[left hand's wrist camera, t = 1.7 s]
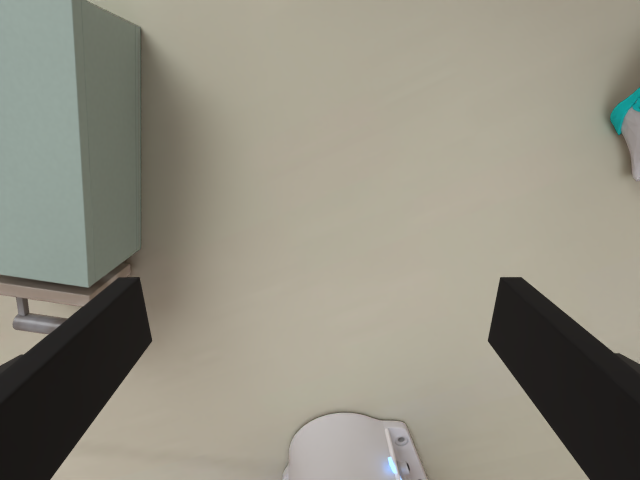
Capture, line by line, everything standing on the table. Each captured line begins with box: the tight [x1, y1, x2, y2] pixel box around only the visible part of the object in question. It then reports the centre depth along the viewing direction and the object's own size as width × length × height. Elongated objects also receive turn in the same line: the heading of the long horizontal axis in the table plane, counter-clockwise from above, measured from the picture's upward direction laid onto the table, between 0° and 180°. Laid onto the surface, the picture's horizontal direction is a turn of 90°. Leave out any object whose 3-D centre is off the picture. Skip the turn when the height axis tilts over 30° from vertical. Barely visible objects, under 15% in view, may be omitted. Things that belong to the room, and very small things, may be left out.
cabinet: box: [0, 0, 141, 288], centre depth 29 cm, size 21×11×9 cm, turn 170°
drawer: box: [0, 263, 130, 334], centre depth 31 cm, size 25×9×7 cm, turn 170°
